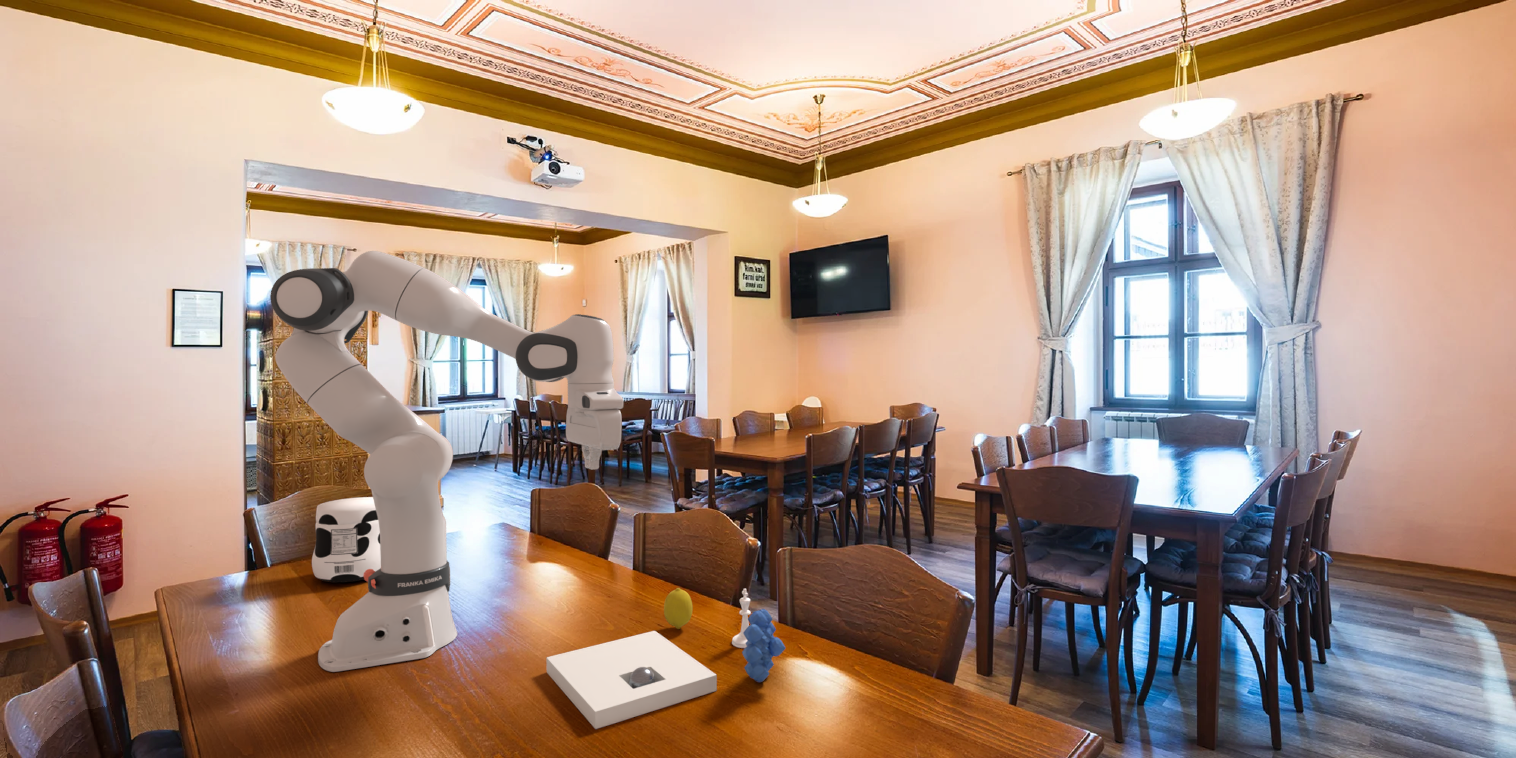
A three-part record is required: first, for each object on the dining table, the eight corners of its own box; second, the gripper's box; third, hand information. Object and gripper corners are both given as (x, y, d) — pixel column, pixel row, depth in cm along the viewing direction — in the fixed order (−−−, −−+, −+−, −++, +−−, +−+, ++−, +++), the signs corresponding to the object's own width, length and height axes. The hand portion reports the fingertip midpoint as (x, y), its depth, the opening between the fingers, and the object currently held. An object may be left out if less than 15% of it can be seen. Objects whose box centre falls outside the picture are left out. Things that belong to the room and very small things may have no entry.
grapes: (776, 701, 106) (776, 623, 105) (734, 695, 107) (734, 619, 107) (793, 669, 117) (793, 598, 116) (755, 664, 119) (755, 594, 118)
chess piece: (739, 650, 125) (738, 595, 124) (727, 640, 129) (727, 587, 129) (763, 644, 127) (763, 590, 127) (751, 635, 131) (750, 583, 131)
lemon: (687, 635, 131) (687, 593, 131) (660, 633, 132) (659, 591, 132) (696, 624, 137) (695, 584, 137) (669, 622, 138) (669, 582, 138)
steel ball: (635, 700, 105) (634, 672, 106) (626, 694, 109) (624, 667, 109) (659, 693, 108) (658, 667, 108) (649, 688, 111) (648, 662, 111)
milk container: (374, 562, 181) (372, 493, 180) (408, 573, 171) (406, 501, 170) (299, 579, 167) (298, 505, 166) (332, 593, 157) (330, 514, 156)
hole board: (595, 729, 98) (595, 711, 98) (546, 672, 116) (546, 657, 116) (716, 690, 109) (716, 674, 109) (654, 644, 127) (654, 630, 127)
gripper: (557, 396, 142) (558, 463, 142) (594, 400, 125) (595, 477, 125) (587, 395, 146) (588, 461, 146) (627, 399, 129) (628, 473, 129)
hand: (591, 468), depth 136 cm, fingers closed
